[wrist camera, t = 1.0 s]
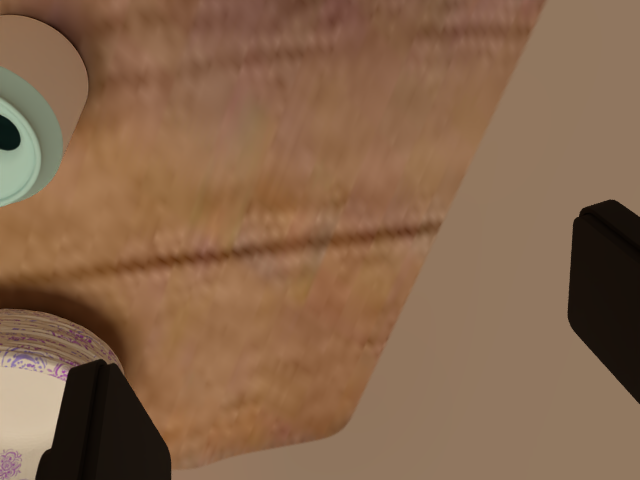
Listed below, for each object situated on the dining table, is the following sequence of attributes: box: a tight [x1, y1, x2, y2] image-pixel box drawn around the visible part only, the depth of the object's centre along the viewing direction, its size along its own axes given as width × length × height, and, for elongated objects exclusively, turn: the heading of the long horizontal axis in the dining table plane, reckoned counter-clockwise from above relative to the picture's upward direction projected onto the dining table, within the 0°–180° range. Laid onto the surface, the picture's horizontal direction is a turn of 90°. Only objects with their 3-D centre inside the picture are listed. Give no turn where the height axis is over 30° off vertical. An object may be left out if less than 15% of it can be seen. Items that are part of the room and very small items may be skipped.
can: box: [0, 15, 89, 207], centre depth 29 cm, size 7×7×12 cm
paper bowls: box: [0, 309, 125, 480], centre depth 41 cm, size 15×15×8 cm
